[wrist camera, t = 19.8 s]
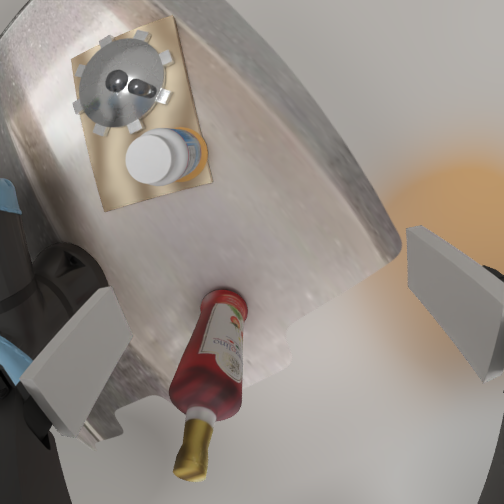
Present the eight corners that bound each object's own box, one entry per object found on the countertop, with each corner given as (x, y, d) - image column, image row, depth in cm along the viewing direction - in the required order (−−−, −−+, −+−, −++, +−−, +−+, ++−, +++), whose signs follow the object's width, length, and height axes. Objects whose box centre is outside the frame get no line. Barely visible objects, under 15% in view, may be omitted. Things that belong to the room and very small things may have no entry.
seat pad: (162, 187, 39) (161, 188, 39) (149, 136, 37) (148, 136, 36) (213, 174, 38) (212, 174, 38) (200, 120, 36) (199, 120, 36)
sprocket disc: (63, 119, 36) (36, 119, 30) (103, 24, 31) (81, 11, 25) (147, 152, 37) (128, 155, 31) (195, 47, 32) (183, 32, 26)
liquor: (259, 308, 46) (254, 480, 20) (225, 334, 48) (195, 497, 22) (224, 274, 44) (181, 441, 18) (190, 304, 46) (129, 463, 20)
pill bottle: (147, 147, 37) (107, 151, 26) (186, 120, 36) (157, 113, 25) (171, 186, 38) (138, 203, 28) (211, 160, 37) (191, 168, 27)
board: (108, 210, 41) (104, 212, 40) (75, 60, 34) (71, 59, 32) (213, 181, 40) (211, 182, 39) (174, 18, 32) (172, 15, 31)
